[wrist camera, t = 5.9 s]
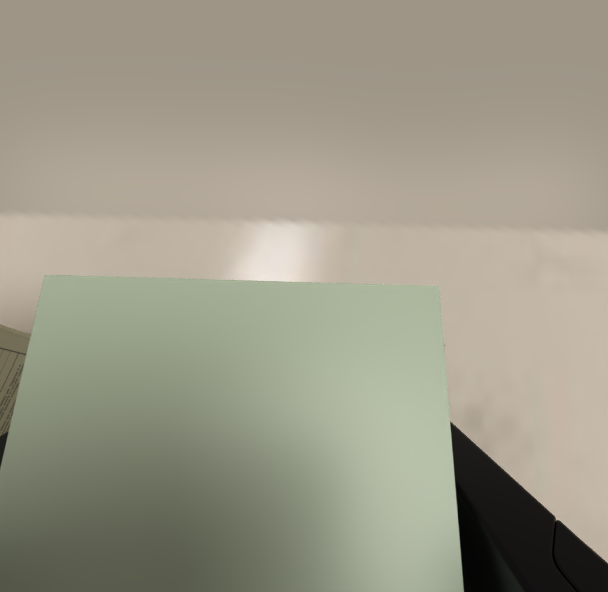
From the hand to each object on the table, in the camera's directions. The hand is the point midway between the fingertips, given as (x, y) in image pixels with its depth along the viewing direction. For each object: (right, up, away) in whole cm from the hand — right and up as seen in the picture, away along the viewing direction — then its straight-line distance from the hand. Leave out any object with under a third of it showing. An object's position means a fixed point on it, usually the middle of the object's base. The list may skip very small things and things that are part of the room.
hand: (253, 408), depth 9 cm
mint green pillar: (0, -3, +6) cm, 7 cm away
